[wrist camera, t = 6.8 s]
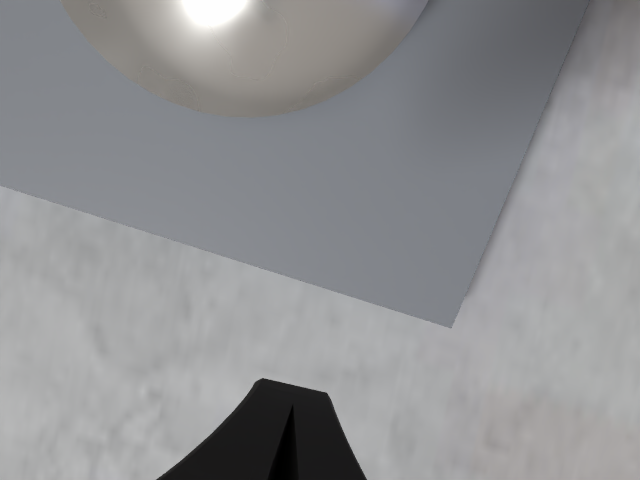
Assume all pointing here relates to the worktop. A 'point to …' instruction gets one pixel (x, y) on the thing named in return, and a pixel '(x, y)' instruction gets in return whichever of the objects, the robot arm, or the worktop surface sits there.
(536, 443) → the worktop surface
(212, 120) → the board
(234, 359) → the worktop surface
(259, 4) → the dial
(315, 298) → the worktop surface
